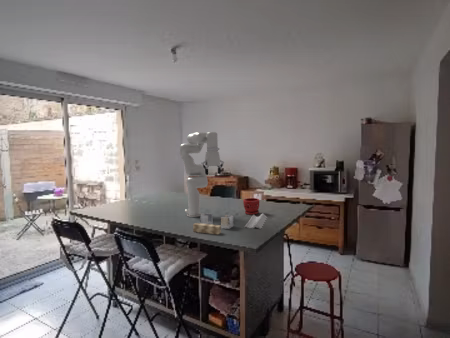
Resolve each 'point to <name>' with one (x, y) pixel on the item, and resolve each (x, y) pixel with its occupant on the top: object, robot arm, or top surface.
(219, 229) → the beige wooden bar
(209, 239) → the top surface
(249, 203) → the plant pot
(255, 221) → the crown molding
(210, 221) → the cup brackets
